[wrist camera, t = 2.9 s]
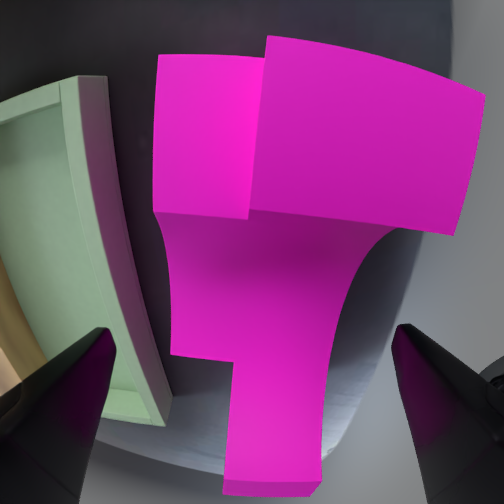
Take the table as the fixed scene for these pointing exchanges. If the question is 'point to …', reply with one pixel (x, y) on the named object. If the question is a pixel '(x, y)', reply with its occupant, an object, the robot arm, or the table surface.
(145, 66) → the table surface
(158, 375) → the frame
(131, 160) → the table surface
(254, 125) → the toy block
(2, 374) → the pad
